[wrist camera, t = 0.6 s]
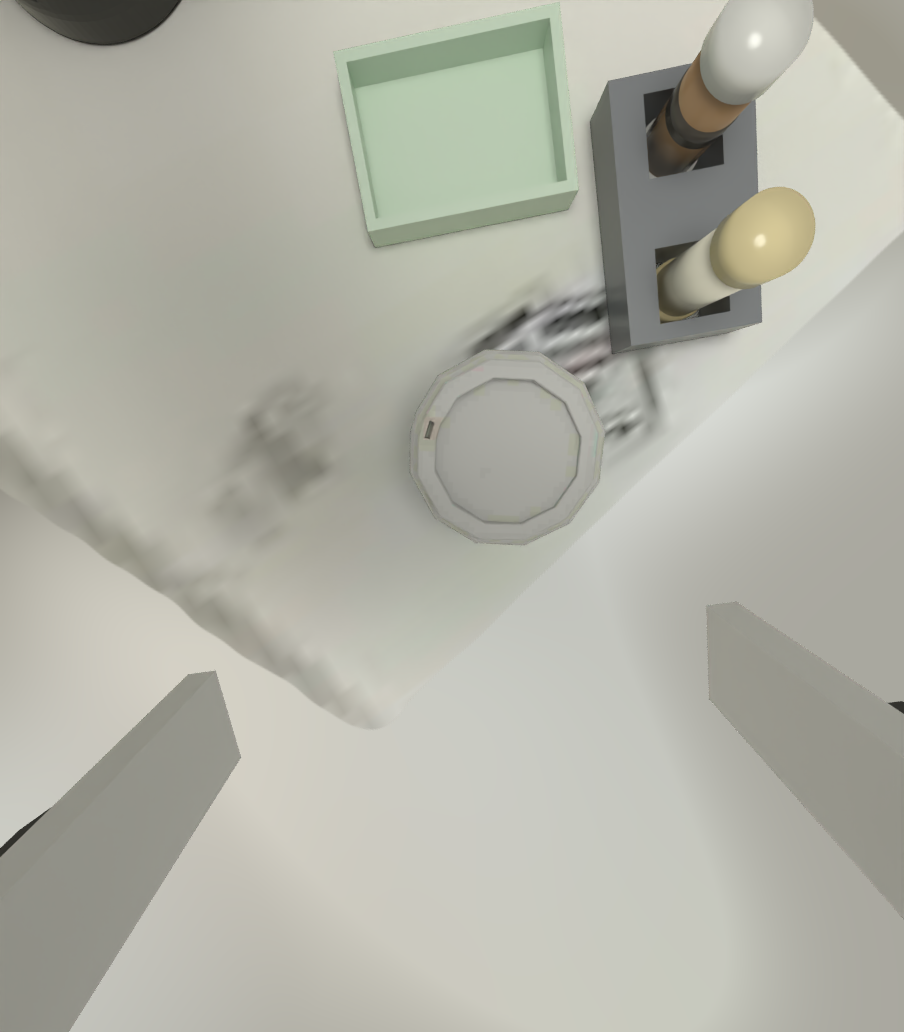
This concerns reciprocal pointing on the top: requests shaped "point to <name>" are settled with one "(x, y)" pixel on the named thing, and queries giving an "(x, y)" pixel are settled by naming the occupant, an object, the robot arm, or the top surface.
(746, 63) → the cylinder
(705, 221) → the grey rectangular block
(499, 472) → the disposable coffee cup
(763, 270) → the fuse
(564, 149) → the parts tray
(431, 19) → the top surface
